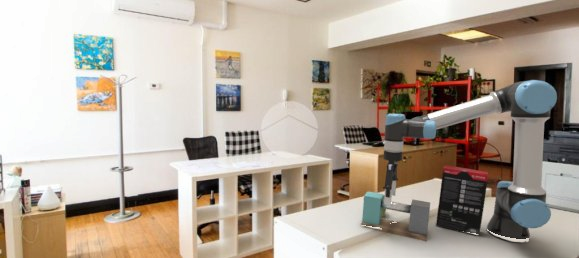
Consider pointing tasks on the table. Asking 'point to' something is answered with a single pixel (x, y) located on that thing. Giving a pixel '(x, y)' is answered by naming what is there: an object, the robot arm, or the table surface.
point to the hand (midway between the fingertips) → (389, 199)
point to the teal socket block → (372, 208)
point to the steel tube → (396, 206)
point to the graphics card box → (462, 199)
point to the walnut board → (396, 229)
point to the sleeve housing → (419, 217)
